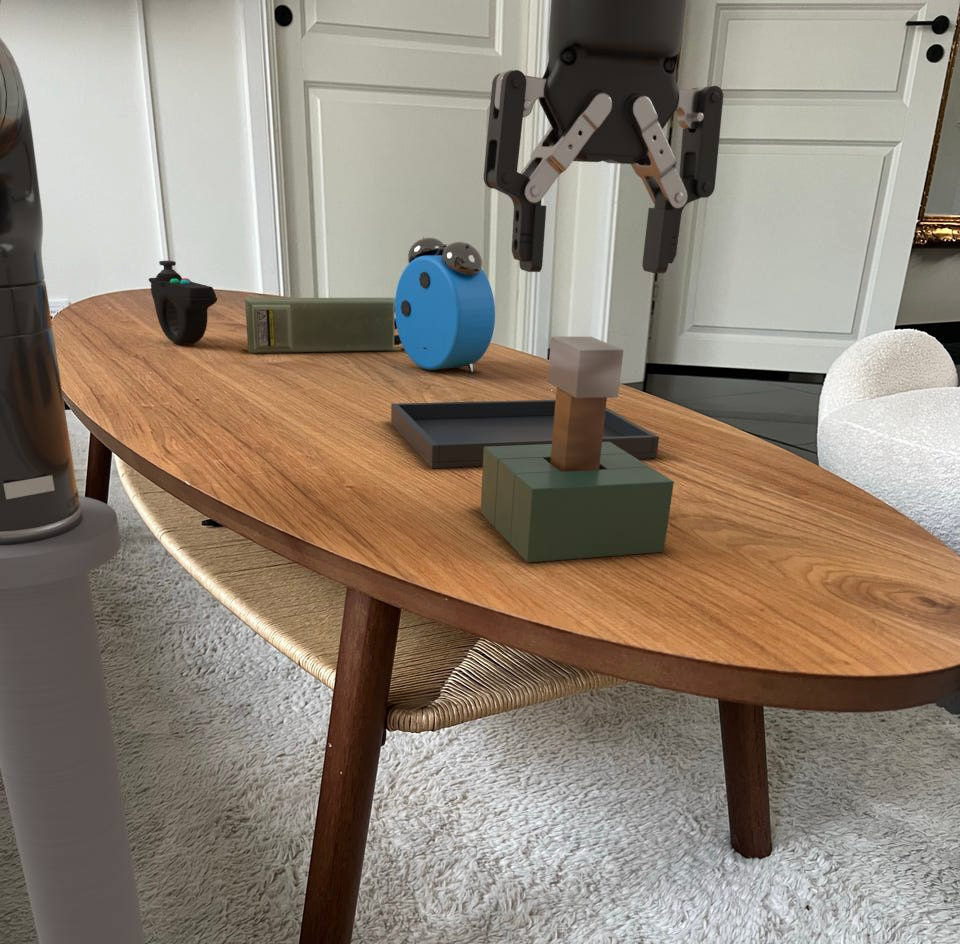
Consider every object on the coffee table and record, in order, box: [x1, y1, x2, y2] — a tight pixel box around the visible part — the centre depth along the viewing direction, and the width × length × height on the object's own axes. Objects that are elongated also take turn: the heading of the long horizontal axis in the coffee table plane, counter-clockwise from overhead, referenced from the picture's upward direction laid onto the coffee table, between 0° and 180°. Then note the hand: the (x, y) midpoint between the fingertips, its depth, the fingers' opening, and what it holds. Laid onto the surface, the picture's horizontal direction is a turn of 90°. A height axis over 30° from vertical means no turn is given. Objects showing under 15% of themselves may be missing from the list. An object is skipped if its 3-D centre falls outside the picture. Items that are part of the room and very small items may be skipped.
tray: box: [390, 399, 660, 469], centre depth 88 cm, size 21×15×2 cm
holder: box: [480, 442, 675, 563], centre depth 65 cm, size 10×10×5 cm
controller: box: [148, 260, 218, 345], centre depth 121 cm, size 4×12×10 cm, turn 43°
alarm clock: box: [394, 236, 496, 373], centre depth 114 cm, size 13×6×15 cm, turn 40°
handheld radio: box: [244, 297, 402, 354], centre depth 124 cm, size 7×3×25 cm
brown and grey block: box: [547, 336, 624, 472], centre depth 64 cm, size 3×5×13 cm, turn 18°
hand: (593, 271), depth 59 cm, fingers open, 8 cm apart
